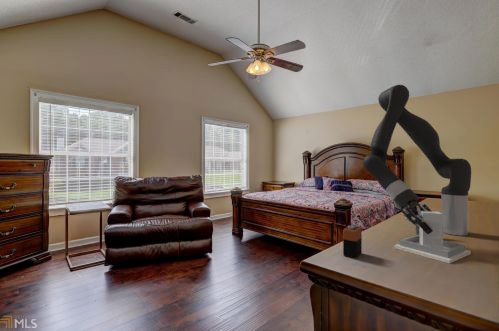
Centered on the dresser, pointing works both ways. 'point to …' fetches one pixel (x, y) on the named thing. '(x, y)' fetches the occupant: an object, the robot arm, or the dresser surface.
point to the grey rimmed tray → (433, 249)
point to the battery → (352, 241)
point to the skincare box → (436, 225)
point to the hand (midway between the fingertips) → (435, 231)
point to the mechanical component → (416, 227)
